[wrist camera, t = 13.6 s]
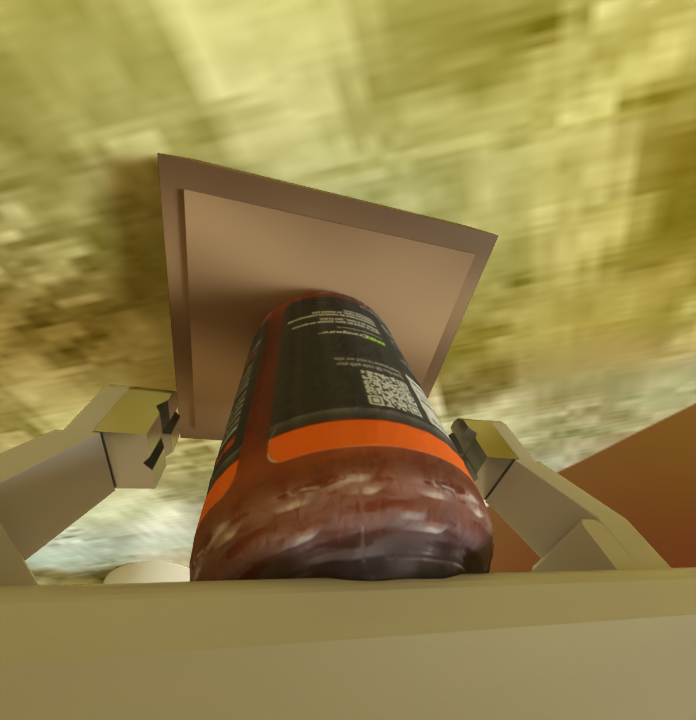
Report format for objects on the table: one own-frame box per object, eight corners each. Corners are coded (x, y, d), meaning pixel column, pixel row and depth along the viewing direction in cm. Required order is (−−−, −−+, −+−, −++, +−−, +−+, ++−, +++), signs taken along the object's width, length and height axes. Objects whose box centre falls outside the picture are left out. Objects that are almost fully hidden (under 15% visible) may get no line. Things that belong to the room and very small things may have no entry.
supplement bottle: (273, 415, 15) (209, 876, 5) (233, 299, 11) (-151, 944, 2) (393, 394, 15) (556, 796, 5) (387, 274, 12) (772, 737, 2)
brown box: (189, 158, 12) (152, 152, 9) (463, 225, 14) (502, 236, 11) (198, 399, 18) (178, 442, 15) (392, 416, 20) (406, 455, 17)
